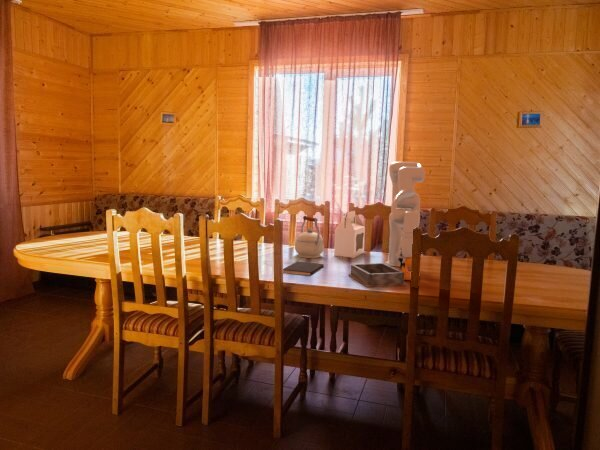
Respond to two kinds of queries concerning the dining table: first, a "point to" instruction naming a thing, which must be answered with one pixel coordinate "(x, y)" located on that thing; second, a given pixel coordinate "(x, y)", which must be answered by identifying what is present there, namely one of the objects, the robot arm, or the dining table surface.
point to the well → (377, 275)
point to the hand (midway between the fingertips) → (408, 269)
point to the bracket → (406, 268)
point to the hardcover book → (303, 268)
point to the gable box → (349, 236)
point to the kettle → (309, 241)
